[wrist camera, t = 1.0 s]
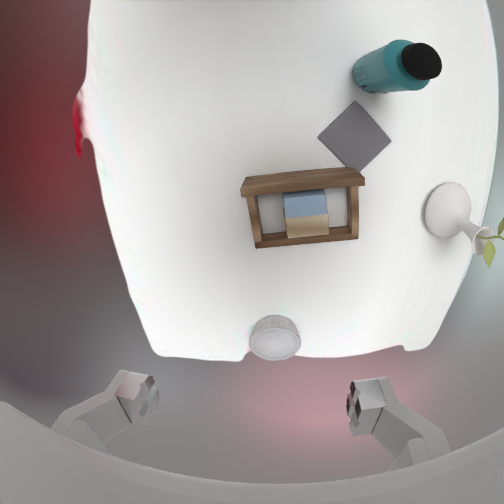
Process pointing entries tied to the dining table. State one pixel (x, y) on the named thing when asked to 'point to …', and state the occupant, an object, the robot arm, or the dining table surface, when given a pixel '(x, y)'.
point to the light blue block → (305, 203)
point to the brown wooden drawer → (300, 183)
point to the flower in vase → (458, 219)
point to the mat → (355, 137)
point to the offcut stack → (306, 225)
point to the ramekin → (275, 338)
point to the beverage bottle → (397, 67)
